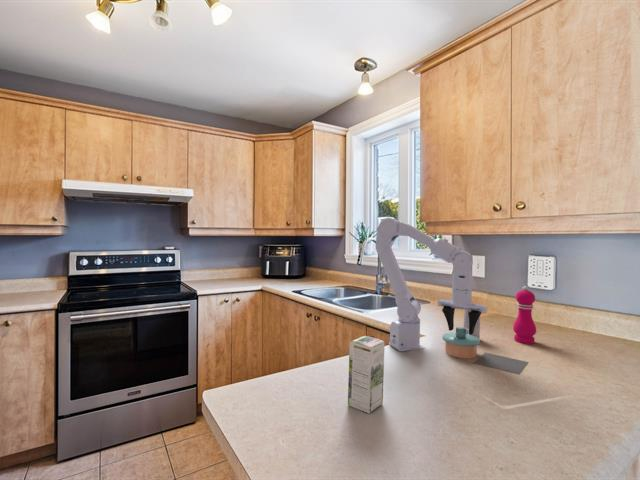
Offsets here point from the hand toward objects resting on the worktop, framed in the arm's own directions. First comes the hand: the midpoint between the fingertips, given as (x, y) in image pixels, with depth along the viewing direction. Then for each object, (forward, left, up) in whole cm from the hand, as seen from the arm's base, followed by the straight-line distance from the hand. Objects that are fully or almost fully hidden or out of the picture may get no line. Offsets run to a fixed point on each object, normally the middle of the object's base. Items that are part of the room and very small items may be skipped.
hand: (460, 331), depth 108 cm
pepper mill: (+32, +5, -7) cm, 33 cm away
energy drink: (+14, +11, -7) cm, 19 cm away
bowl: (0, 0, -7) cm, 7 cm away
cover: (0, 0, -3) cm, 3 cm away
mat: (+6, -10, -7) cm, 14 cm away
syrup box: (-43, -21, -7) cm, 48 cm away
